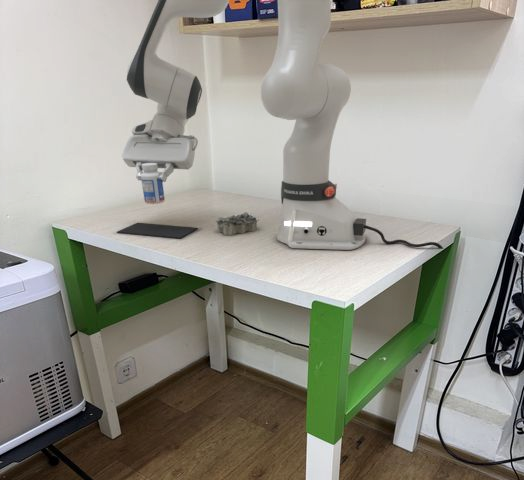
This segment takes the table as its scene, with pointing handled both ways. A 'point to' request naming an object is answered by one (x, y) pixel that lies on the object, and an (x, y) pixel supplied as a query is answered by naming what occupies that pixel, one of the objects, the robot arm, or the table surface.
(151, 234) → the mat
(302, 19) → the robot arm
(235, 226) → the egg carton
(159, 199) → the pill bottle
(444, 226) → the table surface
